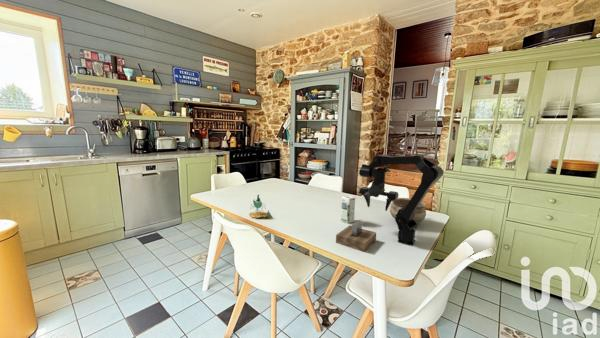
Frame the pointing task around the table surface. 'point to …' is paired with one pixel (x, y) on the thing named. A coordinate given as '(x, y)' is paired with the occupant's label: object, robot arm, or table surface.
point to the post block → (356, 239)
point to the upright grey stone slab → (356, 229)
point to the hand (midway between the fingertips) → (377, 208)
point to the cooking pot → (403, 202)
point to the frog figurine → (259, 214)
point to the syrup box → (347, 209)
